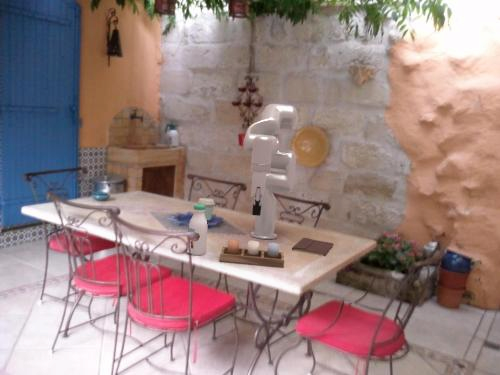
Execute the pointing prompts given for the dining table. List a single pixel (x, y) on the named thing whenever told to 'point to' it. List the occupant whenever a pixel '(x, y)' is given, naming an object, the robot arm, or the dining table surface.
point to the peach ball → (233, 245)
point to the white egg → (253, 247)
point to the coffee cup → (207, 207)
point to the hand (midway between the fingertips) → (256, 213)
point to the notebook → (313, 246)
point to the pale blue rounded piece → (273, 249)
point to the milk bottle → (198, 230)
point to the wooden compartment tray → (252, 258)
